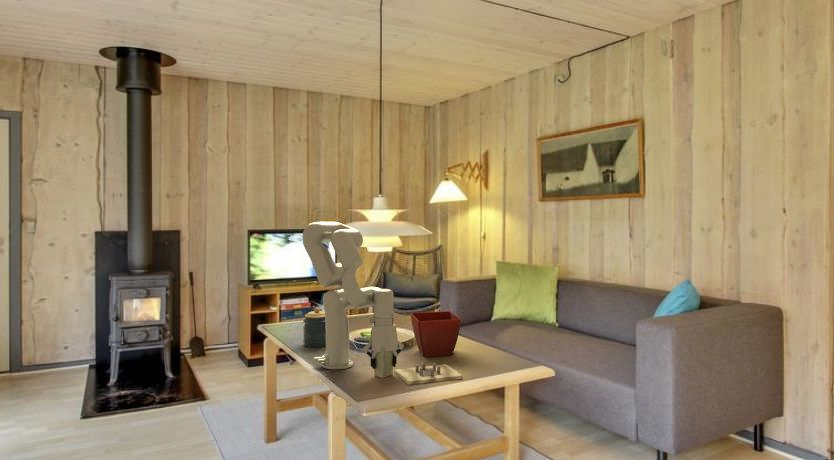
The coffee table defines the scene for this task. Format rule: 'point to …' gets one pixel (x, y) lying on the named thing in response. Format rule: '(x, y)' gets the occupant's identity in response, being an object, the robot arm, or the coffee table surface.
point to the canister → (315, 329)
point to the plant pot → (436, 332)
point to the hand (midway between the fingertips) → (383, 366)
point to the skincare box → (383, 363)
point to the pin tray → (427, 374)
